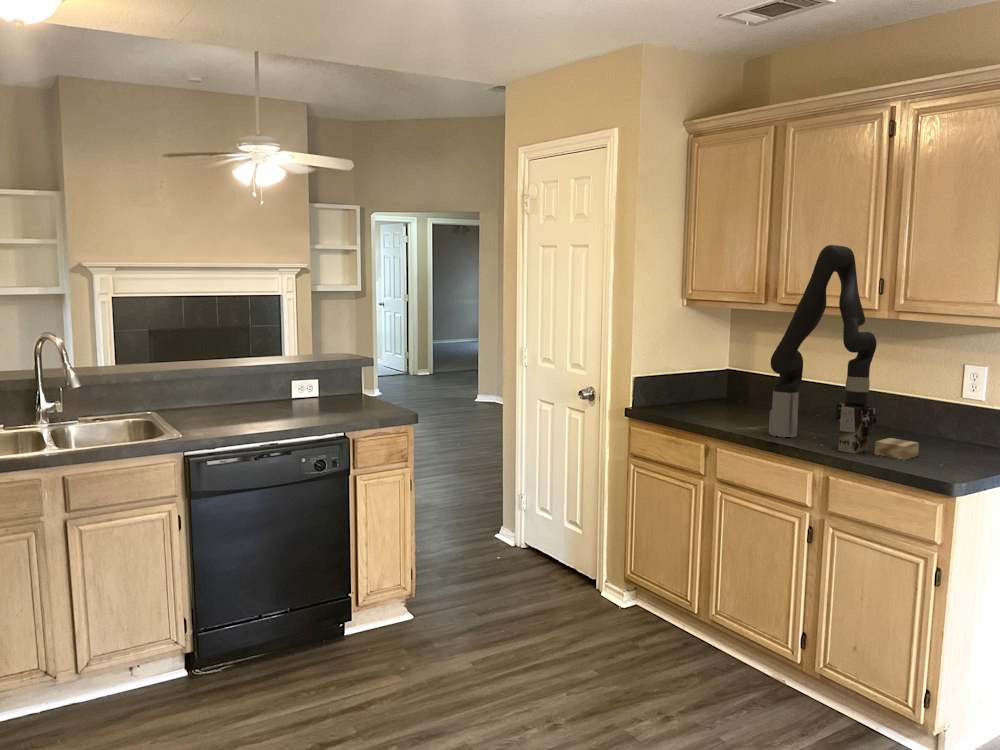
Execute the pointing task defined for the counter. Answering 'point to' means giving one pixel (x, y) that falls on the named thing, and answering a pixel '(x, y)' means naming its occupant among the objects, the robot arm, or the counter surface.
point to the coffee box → (852, 430)
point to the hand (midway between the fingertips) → (854, 435)
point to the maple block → (896, 448)
